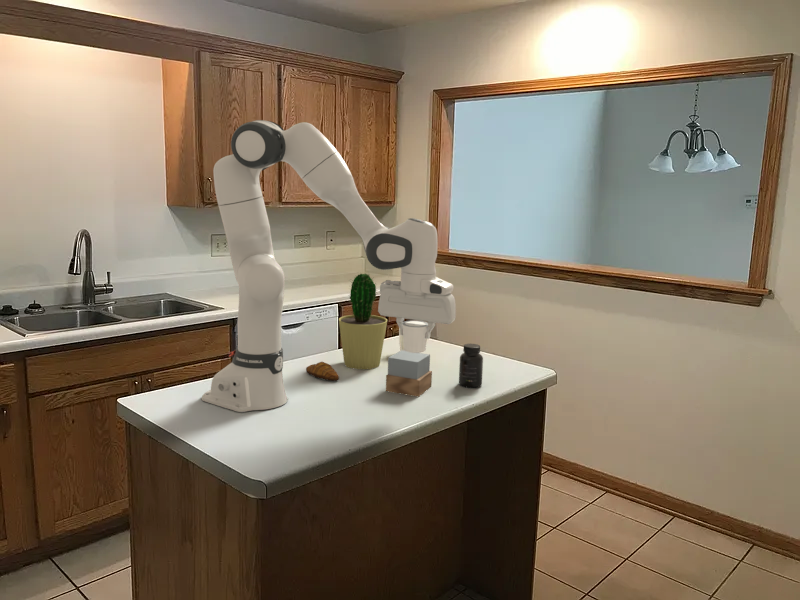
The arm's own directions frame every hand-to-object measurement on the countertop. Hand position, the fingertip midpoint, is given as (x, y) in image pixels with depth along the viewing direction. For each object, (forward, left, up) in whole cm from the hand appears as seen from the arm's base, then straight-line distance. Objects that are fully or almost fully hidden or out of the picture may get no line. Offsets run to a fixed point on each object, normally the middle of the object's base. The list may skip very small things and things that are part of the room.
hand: (415, 336), depth 168 cm
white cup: (-20, +49, -20) cm, 56 cm away
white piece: (0, 0, -4) cm, 4 cm away
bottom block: (-6, +14, -20) cm, 25 cm away
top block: (-7, +14, -15) cm, 21 cm away
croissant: (-34, +12, -20) cm, 41 cm away
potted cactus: (-29, +30, -20) cm, 46 cm away
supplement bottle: (+8, +26, -20) cm, 34 cm away
